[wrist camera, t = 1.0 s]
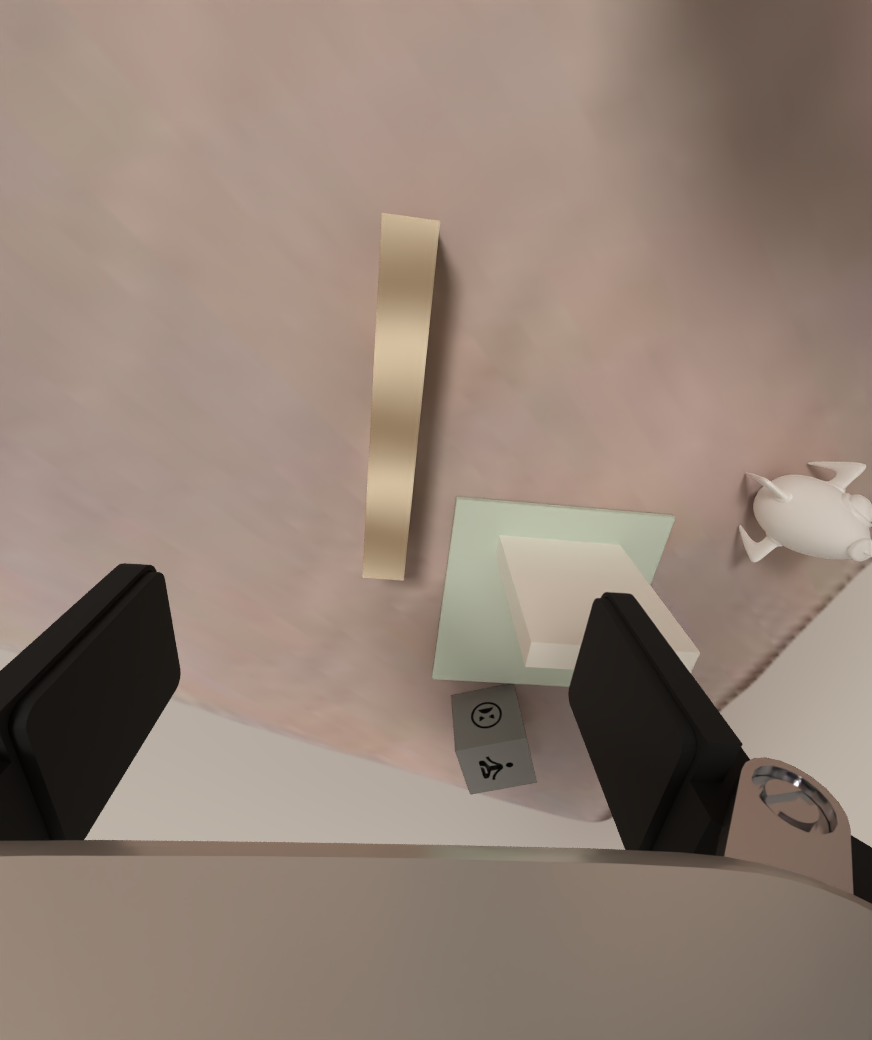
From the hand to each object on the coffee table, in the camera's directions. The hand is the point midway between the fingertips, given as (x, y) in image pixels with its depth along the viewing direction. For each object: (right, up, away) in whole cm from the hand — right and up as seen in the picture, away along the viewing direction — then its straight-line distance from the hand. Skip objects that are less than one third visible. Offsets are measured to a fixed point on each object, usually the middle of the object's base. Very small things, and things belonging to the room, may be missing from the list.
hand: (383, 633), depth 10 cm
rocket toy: (+22, +4, +20) cm, 30 cm away
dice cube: (+5, -13, +28) cm, 31 cm away
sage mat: (+9, -3, +23) cm, 25 cm away
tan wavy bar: (-1, +9, +17) cm, 19 cm away
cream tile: (+9, +1, +20) cm, 22 cm away
